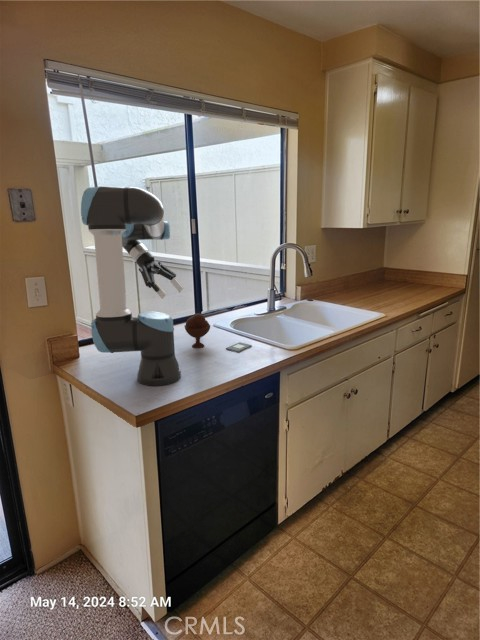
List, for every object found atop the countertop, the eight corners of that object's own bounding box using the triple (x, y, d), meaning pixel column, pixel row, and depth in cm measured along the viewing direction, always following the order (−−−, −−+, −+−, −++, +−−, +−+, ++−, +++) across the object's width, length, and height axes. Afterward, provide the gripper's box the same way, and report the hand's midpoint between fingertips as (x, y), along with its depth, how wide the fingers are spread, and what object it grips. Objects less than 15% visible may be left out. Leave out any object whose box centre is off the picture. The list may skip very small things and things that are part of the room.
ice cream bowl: (213, 343, 182) (213, 310, 178) (205, 351, 171) (204, 317, 167) (191, 341, 184) (190, 309, 180) (181, 349, 174) (180, 315, 170)
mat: (238, 352, 170) (238, 350, 170) (226, 349, 174) (225, 347, 174) (251, 346, 177) (251, 344, 177) (239, 343, 181) (239, 342, 181)
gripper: (154, 259, 192) (183, 293, 190) (119, 266, 170) (151, 305, 168) (163, 248, 188) (193, 282, 186) (128, 254, 166) (161, 293, 164)
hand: (173, 293), depth 177 cm, fingers open, 13 cm apart
